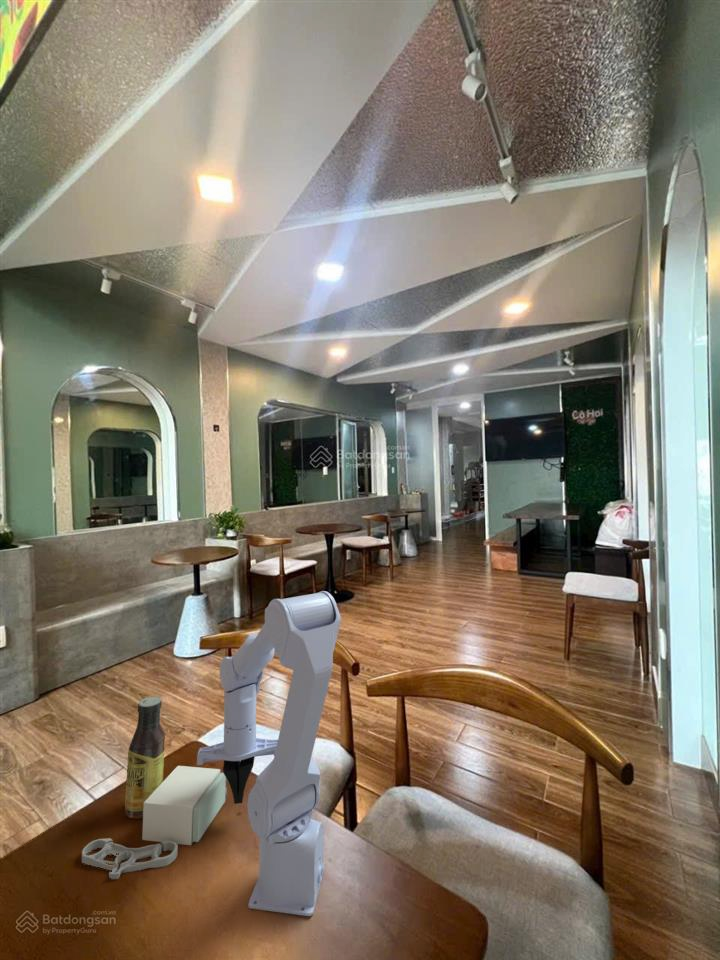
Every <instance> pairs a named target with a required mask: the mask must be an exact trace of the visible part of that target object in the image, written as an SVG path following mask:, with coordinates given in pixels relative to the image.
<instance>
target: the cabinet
mask: <svg viewBox="0 0 720 960" xmlns="http://www.w3.org/2000/svg"><path fill="white" fill-rule="evenodd" d="M220 773H221V768H207V767H197V766H186V765H177V766H176V767H175V768H174V769H173V770H172V772H171V773H170V774H169V775H168V776H167V777H166V778H164V779H163V782H162V783H161V785H160V786H159V787H158V788H157V789H156V790H155V791H154V792H153V793H152V794H151V795H150V797H149V798H148V799H147V800H146V801H145V802H144V807H143V818H142V837H141V838H142V839H141V840H142V841H149V842H158V843H161V842H162V841H164V840H168V841H174V842H176V843H177V845H185V846H192V844H193V843H194V842H193V809H194V807H195V806H196V805H197V804H198V802H199V801H200V800H201V798H202V797H203V796H204V794H205V793H206V792H207V790H208V789H209V788H210V786H211V785H212V784H213V783H214V781H215V780H216V779H217V777H218V776H219V775H220Z"/></svg>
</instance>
